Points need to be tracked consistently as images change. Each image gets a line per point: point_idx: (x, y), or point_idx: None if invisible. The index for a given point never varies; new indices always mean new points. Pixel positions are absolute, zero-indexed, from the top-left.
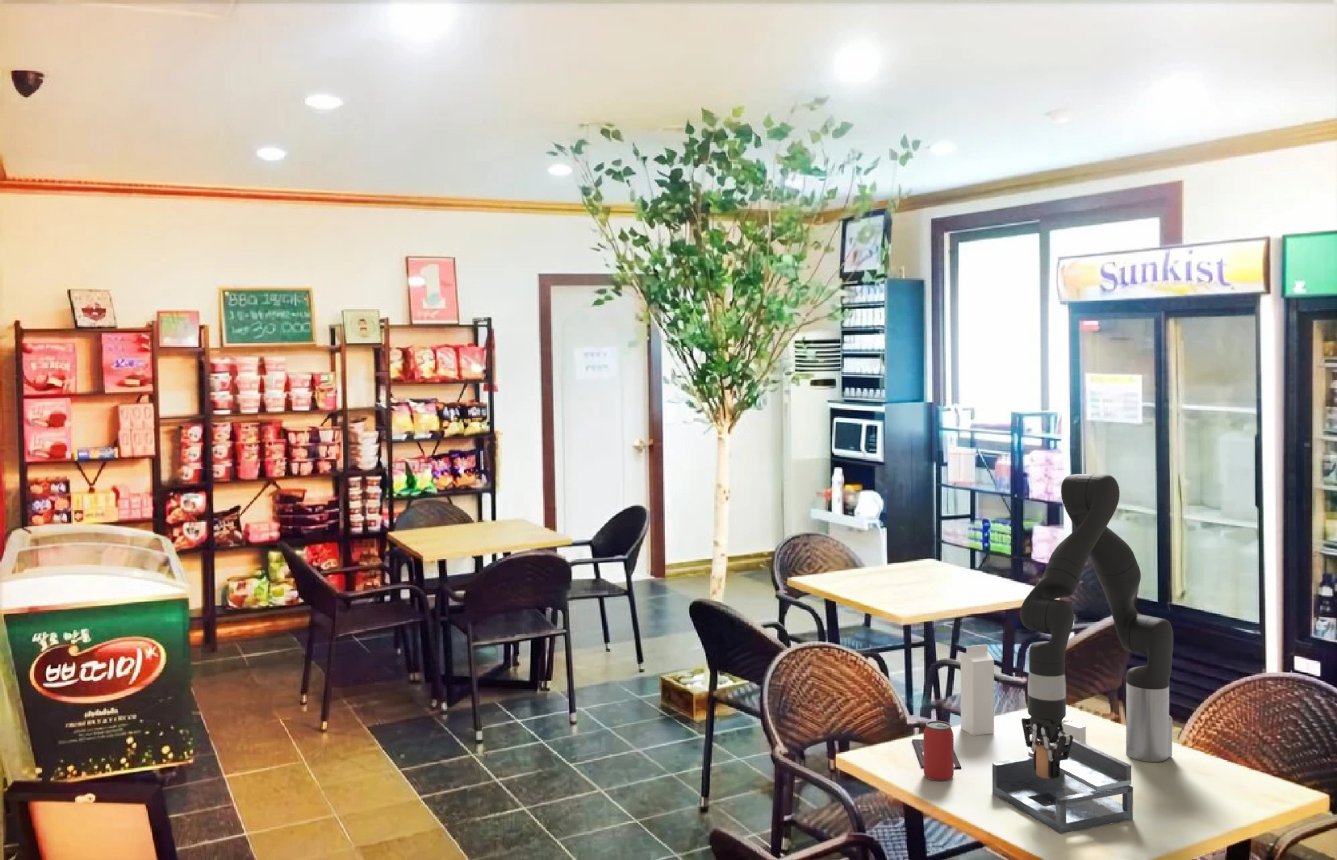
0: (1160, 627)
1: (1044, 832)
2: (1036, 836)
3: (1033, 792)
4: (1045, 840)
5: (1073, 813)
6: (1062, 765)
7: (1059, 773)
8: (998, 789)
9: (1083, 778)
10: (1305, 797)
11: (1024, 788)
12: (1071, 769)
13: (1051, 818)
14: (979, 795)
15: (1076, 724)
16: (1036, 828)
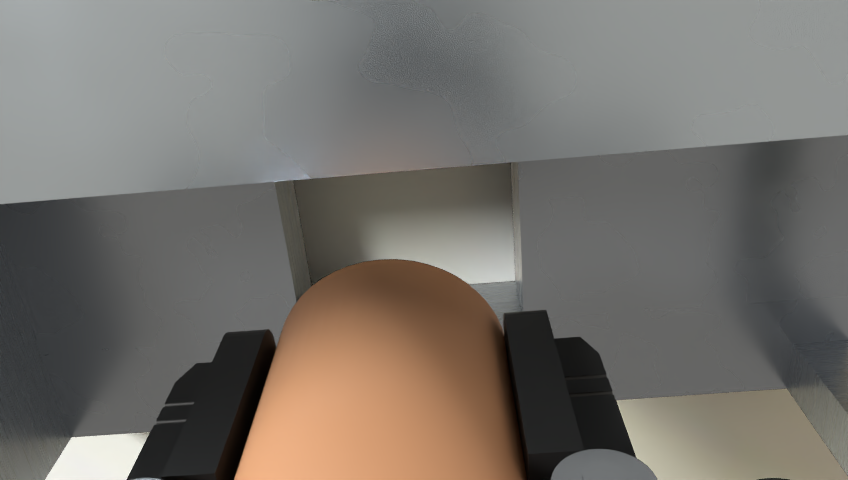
0: None
1: (730, 409)
2: (752, 475)
3: (228, 244)
4: (824, 459)
5: (738, 188)
6: (271, 99)
7: (602, 365)
8: (101, 430)
9: (818, 115)
10: None
11: (130, 267)
12: (455, 66)
13: (730, 388)
14: (67, 472)
15: None
16: (658, 421)
